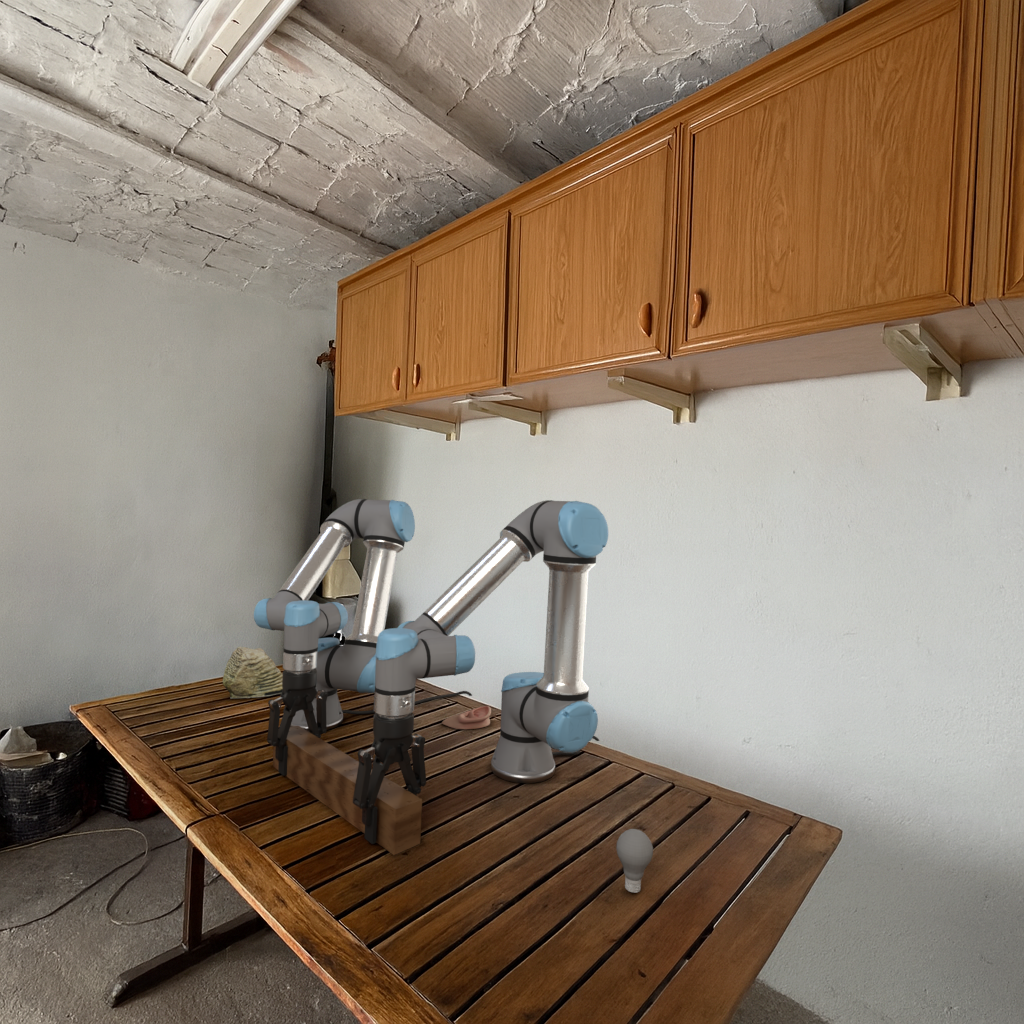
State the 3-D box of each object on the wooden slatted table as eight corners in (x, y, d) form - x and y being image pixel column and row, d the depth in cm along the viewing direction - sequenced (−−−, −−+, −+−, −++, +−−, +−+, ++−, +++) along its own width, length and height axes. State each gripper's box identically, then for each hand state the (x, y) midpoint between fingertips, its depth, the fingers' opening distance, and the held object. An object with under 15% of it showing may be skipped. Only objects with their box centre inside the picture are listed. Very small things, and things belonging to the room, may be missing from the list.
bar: (272, 766, 147) (274, 730, 147) (296, 759, 152) (298, 725, 151) (393, 855, 113) (395, 809, 113) (420, 843, 117) (422, 799, 117)
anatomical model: (438, 712, 177) (451, 700, 188) (438, 726, 177) (450, 713, 188) (484, 718, 174) (494, 705, 185) (484, 732, 174) (493, 718, 185)
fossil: (218, 695, 195) (220, 647, 195) (278, 685, 208) (279, 640, 207) (228, 703, 189) (230, 653, 188) (289, 692, 201) (290, 645, 201)
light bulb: (610, 879, 108) (613, 822, 108) (644, 879, 109) (647, 822, 109) (619, 902, 102) (622, 840, 102) (655, 901, 103) (658, 840, 103)
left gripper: (266, 680, 136) (263, 787, 136) (345, 666, 149) (341, 763, 150) (252, 672, 141) (248, 775, 141) (329, 659, 154) (325, 753, 155)
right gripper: (357, 730, 109) (351, 861, 109) (448, 706, 124) (444, 822, 124) (334, 718, 114) (329, 843, 115) (425, 697, 129) (420, 808, 129)
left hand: (296, 769), depth 145 cm, fingers closed on bar, 6 cm apart
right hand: (389, 832), depth 119 cm, fingers open, 8 cm apart
